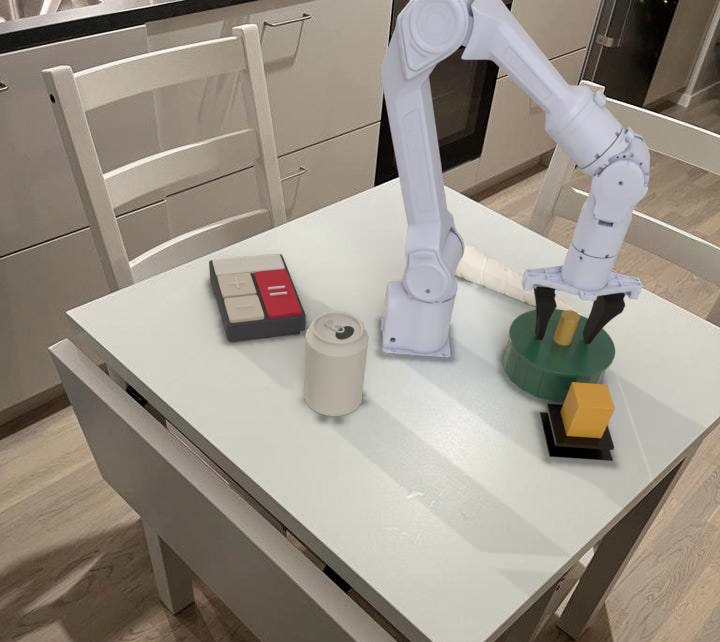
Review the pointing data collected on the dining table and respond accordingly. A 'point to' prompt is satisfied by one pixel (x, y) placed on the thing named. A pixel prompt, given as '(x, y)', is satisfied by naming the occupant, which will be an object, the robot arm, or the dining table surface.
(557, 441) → the stand
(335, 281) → the dining table surface
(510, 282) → the unicorn horn
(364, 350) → the can
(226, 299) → the calculator
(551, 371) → the tin lid
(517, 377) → the tin
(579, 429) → the block
